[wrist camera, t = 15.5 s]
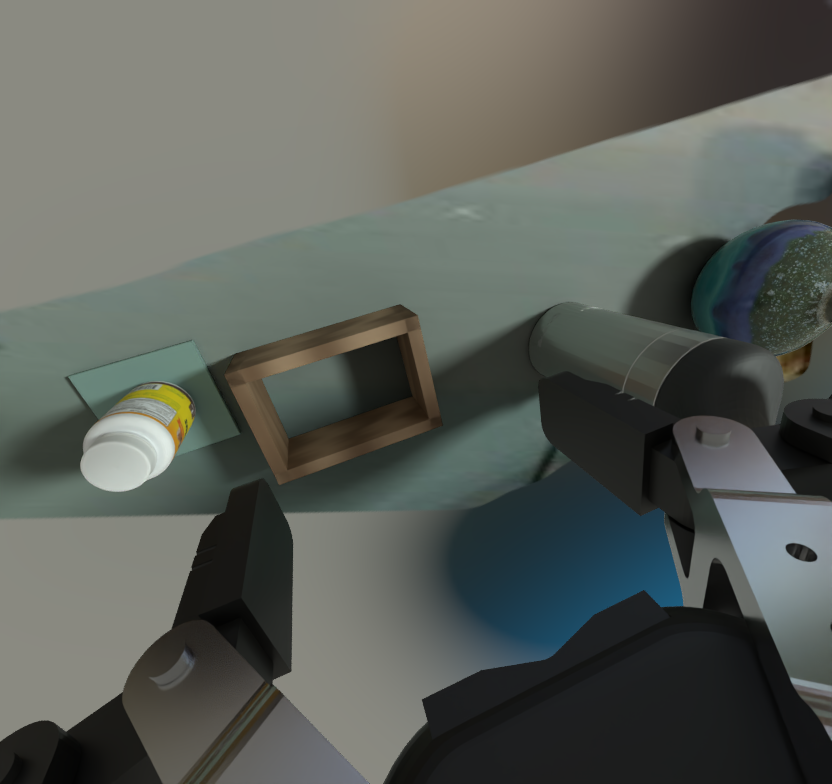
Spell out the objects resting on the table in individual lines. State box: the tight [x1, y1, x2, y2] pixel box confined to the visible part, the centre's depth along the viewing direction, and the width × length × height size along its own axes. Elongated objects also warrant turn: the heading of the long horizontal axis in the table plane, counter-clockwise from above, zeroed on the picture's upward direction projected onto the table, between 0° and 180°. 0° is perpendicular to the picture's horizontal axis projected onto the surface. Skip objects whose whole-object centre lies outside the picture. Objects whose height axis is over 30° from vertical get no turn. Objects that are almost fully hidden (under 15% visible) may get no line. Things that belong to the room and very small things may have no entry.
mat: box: [68, 340, 241, 457], centre depth 34 cm, size 10×10×1 cm
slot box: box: [224, 304, 443, 485], centre depth 36 cm, size 16×11×6 cm
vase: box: [691, 220, 832, 357], centre depth 42 cm, size 15×15×13 cm
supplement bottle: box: [80, 381, 196, 492], centre depth 29 cm, size 6×6×10 cm
